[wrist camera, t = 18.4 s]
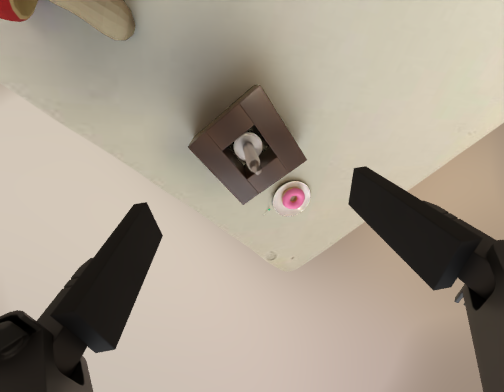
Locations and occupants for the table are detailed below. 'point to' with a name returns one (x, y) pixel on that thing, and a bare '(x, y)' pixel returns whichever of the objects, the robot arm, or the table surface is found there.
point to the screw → (249, 150)
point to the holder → (232, 127)
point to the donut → (291, 198)
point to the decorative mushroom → (80, 14)
